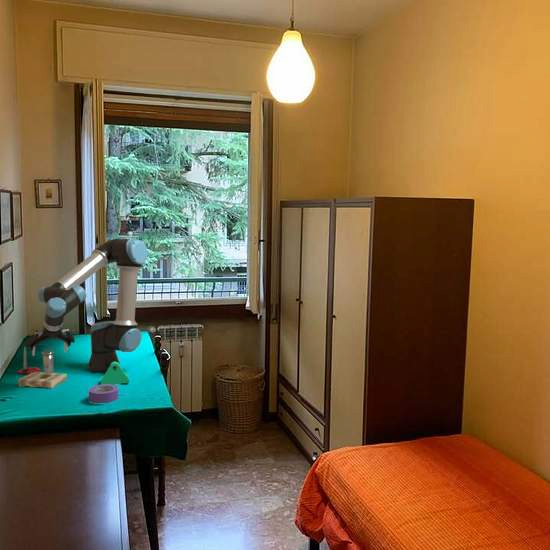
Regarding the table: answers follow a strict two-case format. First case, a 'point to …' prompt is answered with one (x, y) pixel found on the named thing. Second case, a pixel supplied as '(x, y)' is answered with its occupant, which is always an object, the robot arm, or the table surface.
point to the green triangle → (114, 375)
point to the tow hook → (25, 369)
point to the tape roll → (103, 393)
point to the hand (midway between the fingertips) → (49, 351)
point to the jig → (42, 379)
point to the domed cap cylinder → (48, 361)
